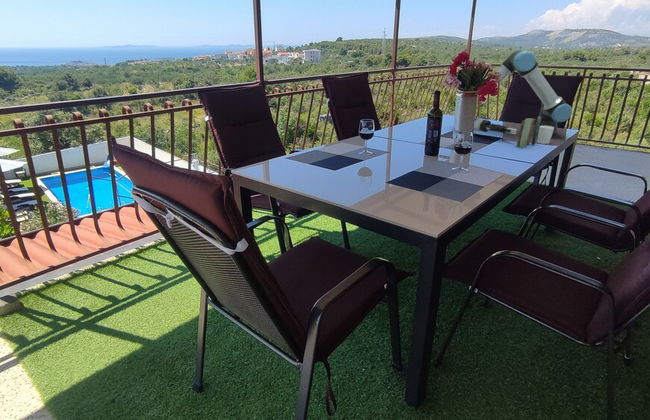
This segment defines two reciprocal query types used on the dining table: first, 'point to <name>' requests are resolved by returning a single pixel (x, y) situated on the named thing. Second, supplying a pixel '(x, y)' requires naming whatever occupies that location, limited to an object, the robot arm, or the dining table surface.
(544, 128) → the white cup
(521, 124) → the brown green flat panel
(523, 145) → the frame
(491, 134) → the dining table surface
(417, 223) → the dining table surface
